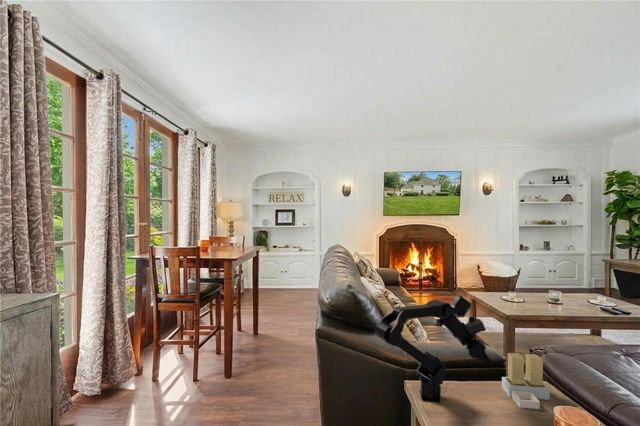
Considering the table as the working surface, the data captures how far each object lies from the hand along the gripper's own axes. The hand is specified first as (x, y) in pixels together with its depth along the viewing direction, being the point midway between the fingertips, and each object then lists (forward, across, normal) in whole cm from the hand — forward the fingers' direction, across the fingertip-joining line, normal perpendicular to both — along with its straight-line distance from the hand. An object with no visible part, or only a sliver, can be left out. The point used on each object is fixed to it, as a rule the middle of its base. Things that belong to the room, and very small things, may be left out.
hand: (486, 357), depth 123 cm
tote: (+18, -5, +1) cm, 18 cm away
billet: (+16, +2, 0) cm, 17 cm away
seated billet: (+21, +2, -4) cm, 21 cm away
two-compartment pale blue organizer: (+20, +2, -1) cm, 20 cm away
